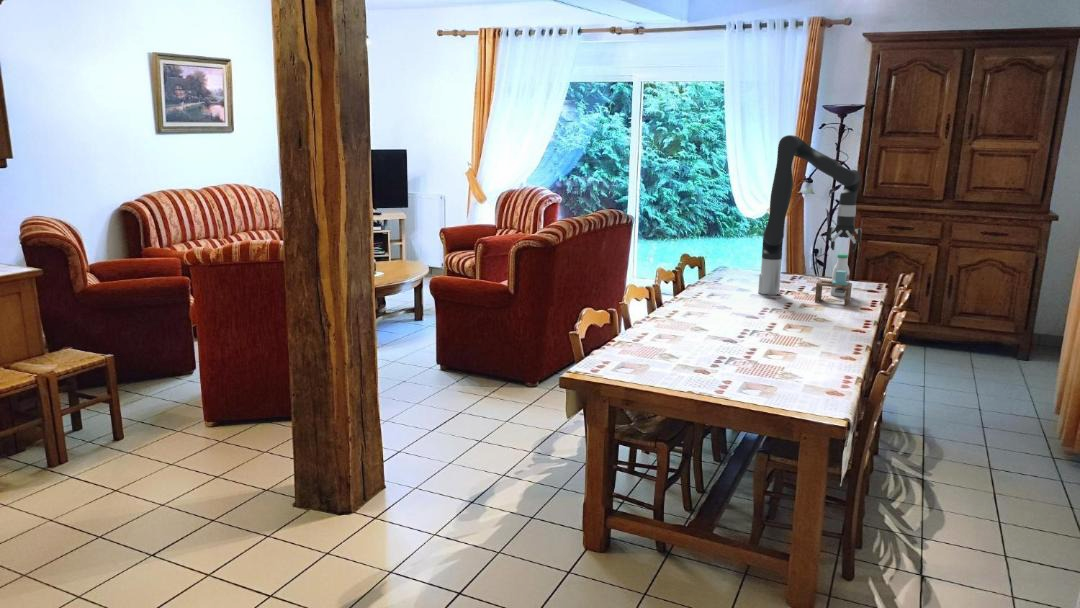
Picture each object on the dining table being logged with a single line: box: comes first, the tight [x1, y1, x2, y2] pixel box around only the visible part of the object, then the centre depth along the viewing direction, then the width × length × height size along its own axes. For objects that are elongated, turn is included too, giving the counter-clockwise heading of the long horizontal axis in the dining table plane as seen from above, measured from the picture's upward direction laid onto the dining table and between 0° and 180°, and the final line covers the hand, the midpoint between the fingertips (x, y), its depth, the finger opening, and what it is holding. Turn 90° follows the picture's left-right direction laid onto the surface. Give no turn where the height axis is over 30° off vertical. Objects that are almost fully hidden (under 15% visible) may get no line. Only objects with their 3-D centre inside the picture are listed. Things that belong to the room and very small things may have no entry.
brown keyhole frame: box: [814, 279, 853, 307], centre depth 354 cm, size 14×9×9 cm, turn 60°
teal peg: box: [832, 270, 850, 293], centre depth 352 cm, size 7×7×10 cm
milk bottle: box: [830, 253, 850, 298], centre depth 368 cm, size 8×8×20 cm
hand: (842, 250), depth 349 cm, fingers open, 8 cm apart
